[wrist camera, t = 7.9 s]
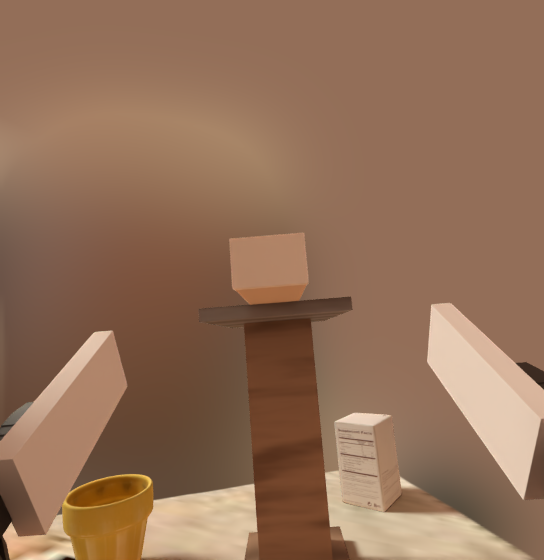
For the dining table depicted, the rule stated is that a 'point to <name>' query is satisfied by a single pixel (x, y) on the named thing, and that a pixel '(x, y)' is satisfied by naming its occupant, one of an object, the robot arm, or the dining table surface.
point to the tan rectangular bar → (269, 267)
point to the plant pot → (109, 517)
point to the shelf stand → (285, 428)
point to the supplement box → (367, 460)
